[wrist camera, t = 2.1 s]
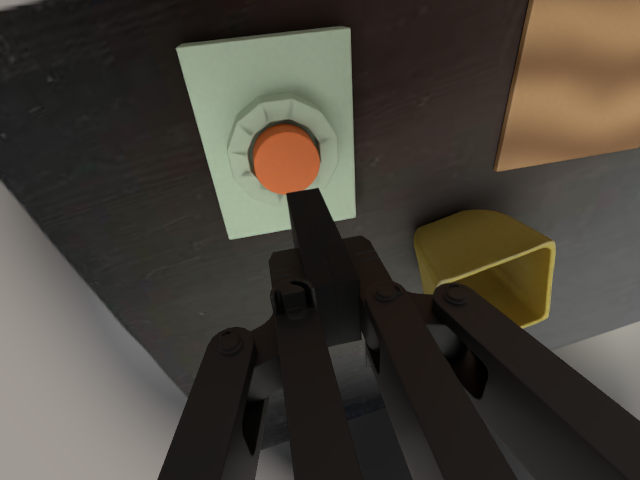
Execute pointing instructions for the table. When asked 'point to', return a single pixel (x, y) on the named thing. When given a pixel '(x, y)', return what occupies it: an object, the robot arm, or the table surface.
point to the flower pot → (490, 261)
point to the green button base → (273, 117)
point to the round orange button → (285, 159)
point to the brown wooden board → (573, 83)
